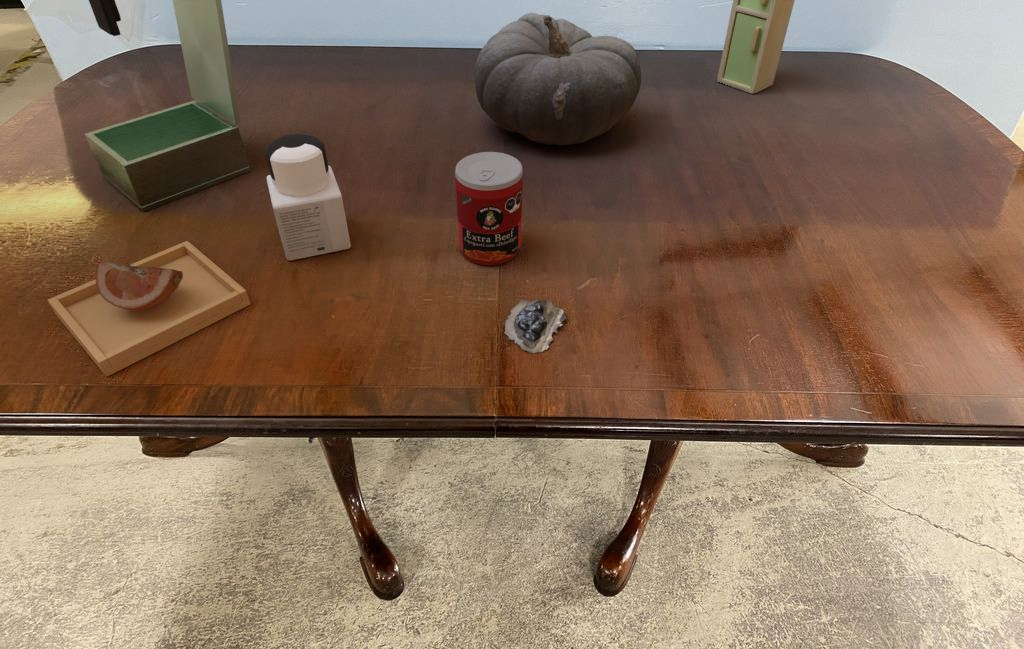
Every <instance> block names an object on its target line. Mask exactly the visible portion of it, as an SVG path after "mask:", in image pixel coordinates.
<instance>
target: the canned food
mask: <svg viewBox="0 0 1024 649" xmlns="http://www.w3.org/2000/svg"><path fill="white" fill-rule="evenodd" d="M523 174H524V173H523V164H522V163H521V161H520V160H519V159H517V158H516V157H515V156H513V155H510V154H507V153H504V152H500V151H499V152H498V151H483V152H482V151H481V152H477V153H472V154H470V155H466V156H465V157H463V158H461V159H460V160H459V161H458V162H457V163H456V166H455V172H454V176H455V177H454V178H455V197H456V198H455V199H456V200H455V201H456V215H457V230H458V232H457V234H458V235H457V236H458V246H459V249H460V252H461V254H462V256H463V257H464V258H465V259H467V260H469V261H470V262H472V263H475V264H477V265H481V266H496V265H501V264H505V263H507V262H509V261H511V260H513V259H514V258H515V257H516V256H517V255H518V253H519V251H520V248H521V246H522V229H523V228H522V224H523V192H524V191H523V189H524V188H523V187H524V186H523V185H524V181H523V180H524V179H523V177H524V175H523Z"/></svg>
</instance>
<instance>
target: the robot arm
mask: <svg viewBox="0 0 1024 649" xmlns="http://www.w3.org/2000/svg"><path fill="white" fill-rule="evenodd" d="M88 2H89V5H90V7H91V10H92V13H93V16H94V18H95V22H96V24H97V26H98V28H100V30H102V31H104V32H105V33H107V34H108V35H110V36H113V37H117V36H120V35H121V30H120V28H119V25H118V22H121V20H122V17H121V15H120V14H121V13H120V11H119V9H118V8H119V7H118V5H117V3H116V0H88Z"/></svg>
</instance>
